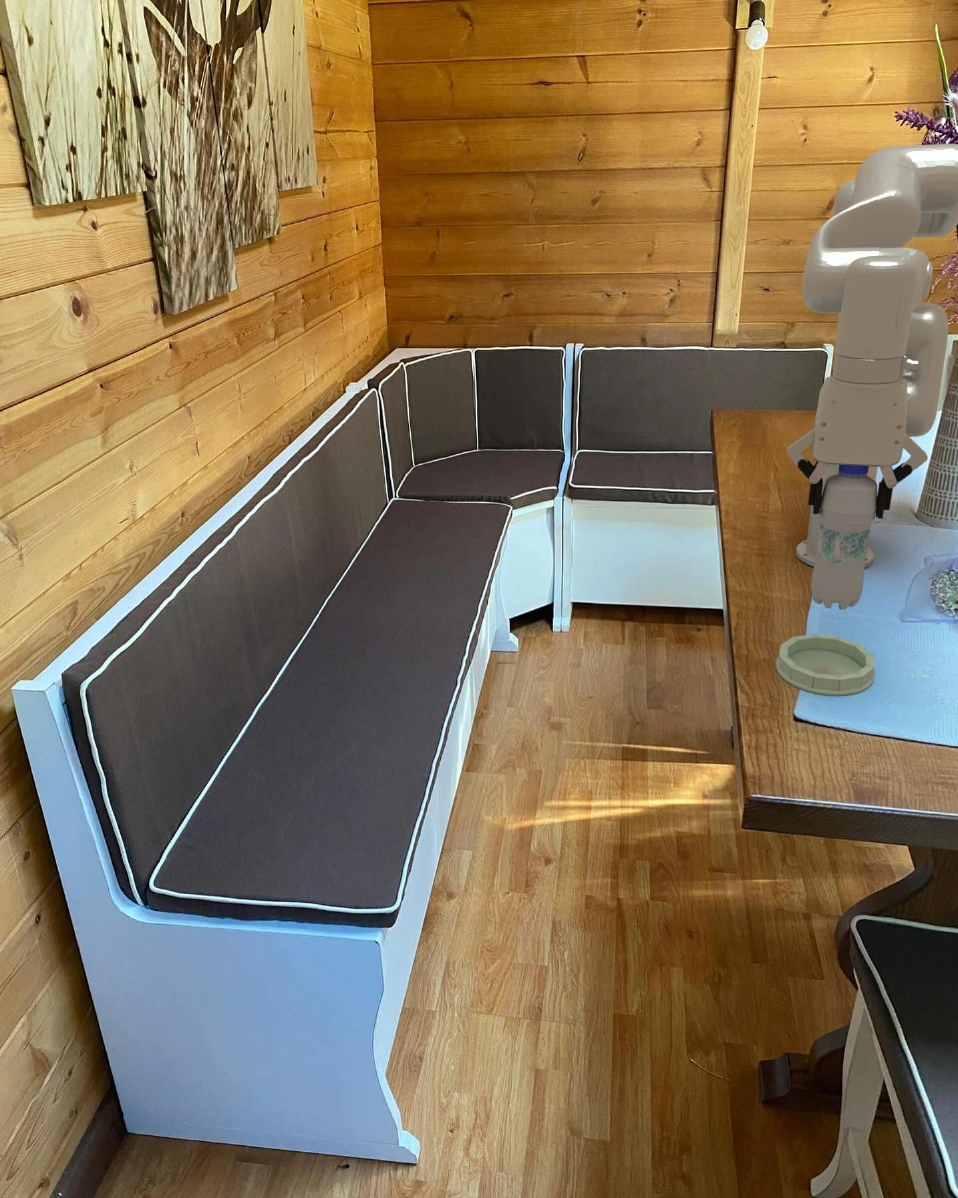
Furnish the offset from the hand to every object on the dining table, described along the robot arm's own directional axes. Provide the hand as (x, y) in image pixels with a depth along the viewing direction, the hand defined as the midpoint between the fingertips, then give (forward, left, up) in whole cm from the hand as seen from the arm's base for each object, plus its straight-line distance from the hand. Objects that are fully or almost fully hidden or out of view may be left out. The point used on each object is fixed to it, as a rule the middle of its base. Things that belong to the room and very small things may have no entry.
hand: (847, 511), depth 112 cm
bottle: (0, 0, -13) cm, 13 cm away
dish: (0, 0, -23) cm, 23 cm away
